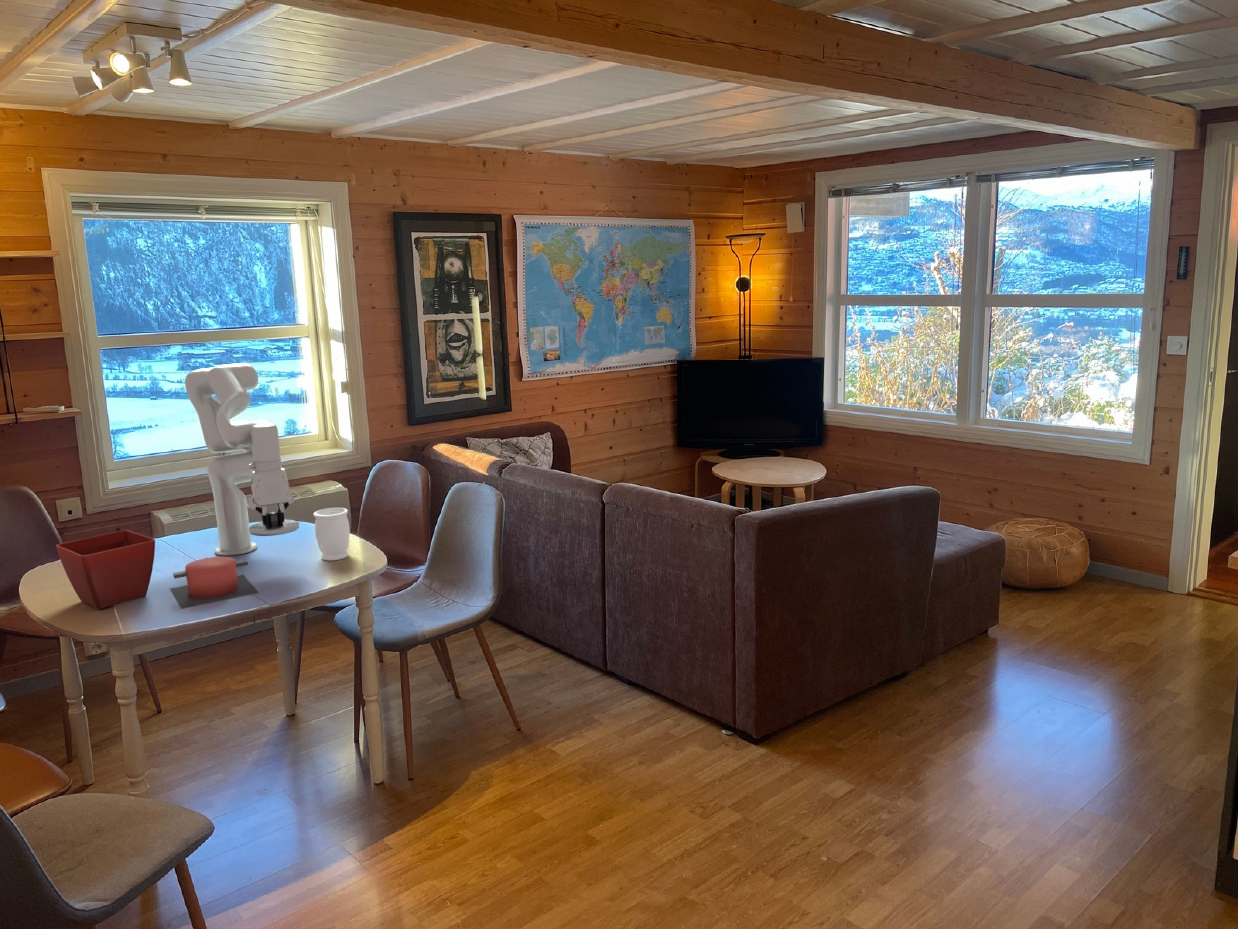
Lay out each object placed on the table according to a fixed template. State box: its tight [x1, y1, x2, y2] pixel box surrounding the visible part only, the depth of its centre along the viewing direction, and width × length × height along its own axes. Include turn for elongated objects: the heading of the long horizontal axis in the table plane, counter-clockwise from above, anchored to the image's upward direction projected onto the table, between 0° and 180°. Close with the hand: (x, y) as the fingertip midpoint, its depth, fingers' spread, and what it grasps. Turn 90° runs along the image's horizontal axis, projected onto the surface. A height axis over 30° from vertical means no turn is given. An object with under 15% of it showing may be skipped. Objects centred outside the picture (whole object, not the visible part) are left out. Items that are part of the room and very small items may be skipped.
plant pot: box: [55, 529, 156, 610], centre depth 252 cm, size 19×19×17 cm
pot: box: [172, 556, 249, 599], centre depth 256 cm, size 13×19×8 cm
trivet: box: [169, 574, 259, 610], centre depth 257 cm, size 20×20×1 cm
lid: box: [249, 511, 300, 537], centre depth 269 cm, size 14×14×5 cm
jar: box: [313, 507, 351, 561], centre depth 286 cm, size 11×10×15 cm
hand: (274, 525), depth 269 cm, fingers closed on lid, 3 cm apart
